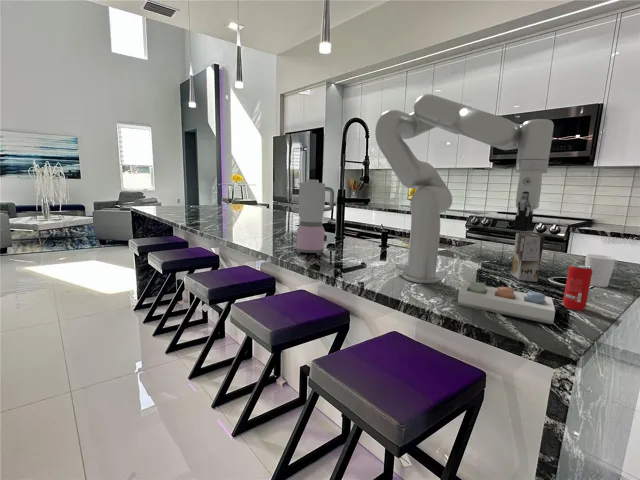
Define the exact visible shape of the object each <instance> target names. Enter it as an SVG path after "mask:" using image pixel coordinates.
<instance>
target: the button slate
mask: <svg viewBox="0 0 640 480" xmlns="http://www.w3.org/2000/svg"><path fill="white" fill-rule="evenodd" d="M526 293H527V297H526V302H531V303H536V304H542V305H544V300H545V296H546V294H544V293H542V292H537V291H527V292H526Z"/></svg>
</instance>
